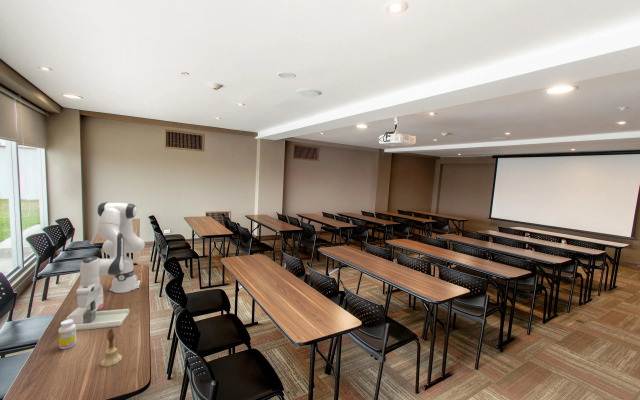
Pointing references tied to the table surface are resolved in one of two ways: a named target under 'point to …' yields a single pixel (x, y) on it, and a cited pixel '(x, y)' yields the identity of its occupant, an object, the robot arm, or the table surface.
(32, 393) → the table surface
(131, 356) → the table surface
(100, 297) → the ink cartridge box
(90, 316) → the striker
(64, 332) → the supplement bottle
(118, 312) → the tray
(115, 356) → the hand bell
